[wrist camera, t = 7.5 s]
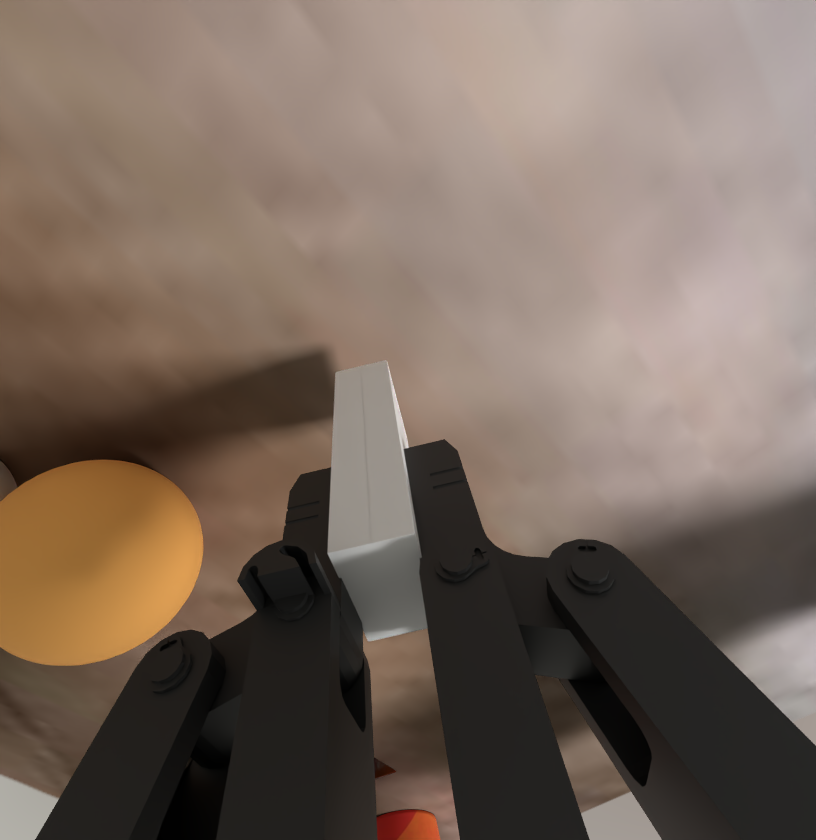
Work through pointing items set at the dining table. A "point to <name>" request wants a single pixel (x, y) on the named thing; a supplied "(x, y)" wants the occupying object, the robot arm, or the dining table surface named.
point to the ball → (93, 561)
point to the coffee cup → (407, 826)
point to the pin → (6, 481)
